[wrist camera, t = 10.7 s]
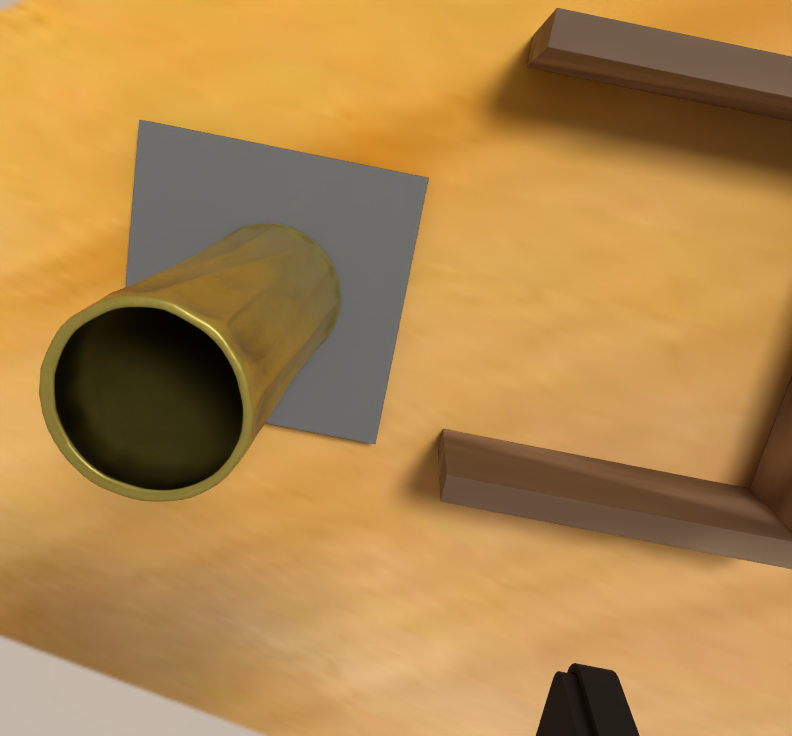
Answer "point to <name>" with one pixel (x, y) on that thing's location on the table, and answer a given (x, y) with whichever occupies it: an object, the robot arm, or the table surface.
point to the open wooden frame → (613, 482)
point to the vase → (187, 363)
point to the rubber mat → (311, 215)
